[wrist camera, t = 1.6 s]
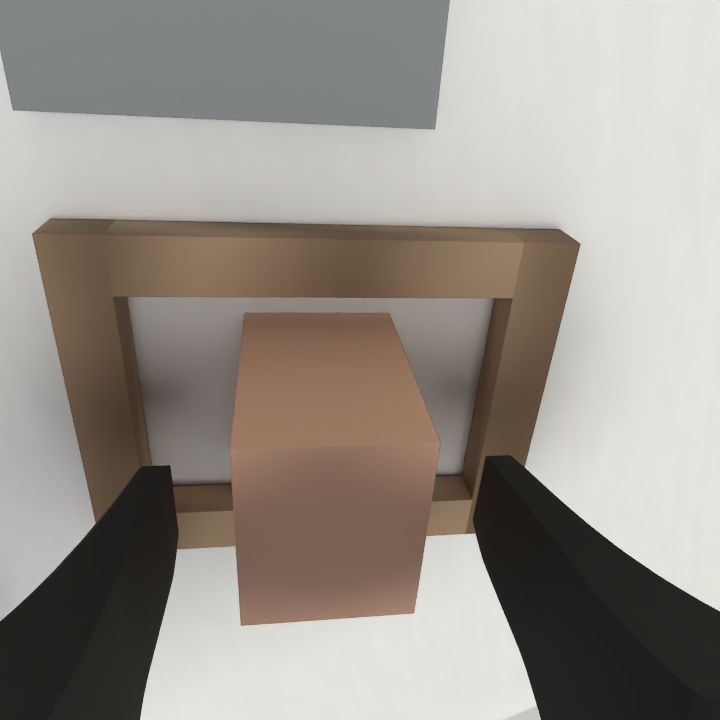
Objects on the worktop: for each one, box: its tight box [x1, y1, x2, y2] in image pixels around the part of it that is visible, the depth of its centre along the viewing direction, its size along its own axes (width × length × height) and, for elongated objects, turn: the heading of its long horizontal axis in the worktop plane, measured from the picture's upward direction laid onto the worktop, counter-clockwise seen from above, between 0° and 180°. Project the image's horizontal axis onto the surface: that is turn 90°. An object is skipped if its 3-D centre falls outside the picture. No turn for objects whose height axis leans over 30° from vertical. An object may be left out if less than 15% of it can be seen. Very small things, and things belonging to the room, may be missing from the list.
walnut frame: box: [32, 219, 580, 549], centre depth 17 cm, size 13×10×1 cm
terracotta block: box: [230, 313, 441, 626], centre depth 15 cm, size 4×5×6 cm
